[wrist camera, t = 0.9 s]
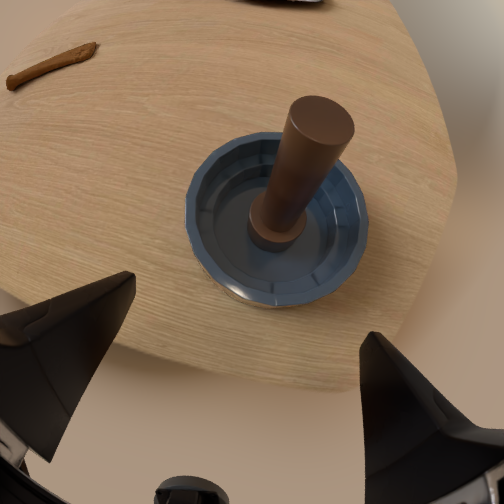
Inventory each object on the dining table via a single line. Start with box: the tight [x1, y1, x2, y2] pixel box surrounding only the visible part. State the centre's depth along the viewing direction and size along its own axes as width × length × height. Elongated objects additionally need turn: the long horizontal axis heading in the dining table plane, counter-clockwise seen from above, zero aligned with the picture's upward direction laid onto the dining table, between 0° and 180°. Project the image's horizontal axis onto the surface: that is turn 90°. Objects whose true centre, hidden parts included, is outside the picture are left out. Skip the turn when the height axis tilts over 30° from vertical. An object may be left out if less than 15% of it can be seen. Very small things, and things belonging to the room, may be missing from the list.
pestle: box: [247, 96, 355, 252], centre depth 17 cm, size 4×4×14 cm
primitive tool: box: [6, 42, 96, 91], centre depth 26 cm, size 19×6×4 cm, turn 103°
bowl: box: [185, 132, 369, 309], centre depth 21 cm, size 14×14×5 cm
